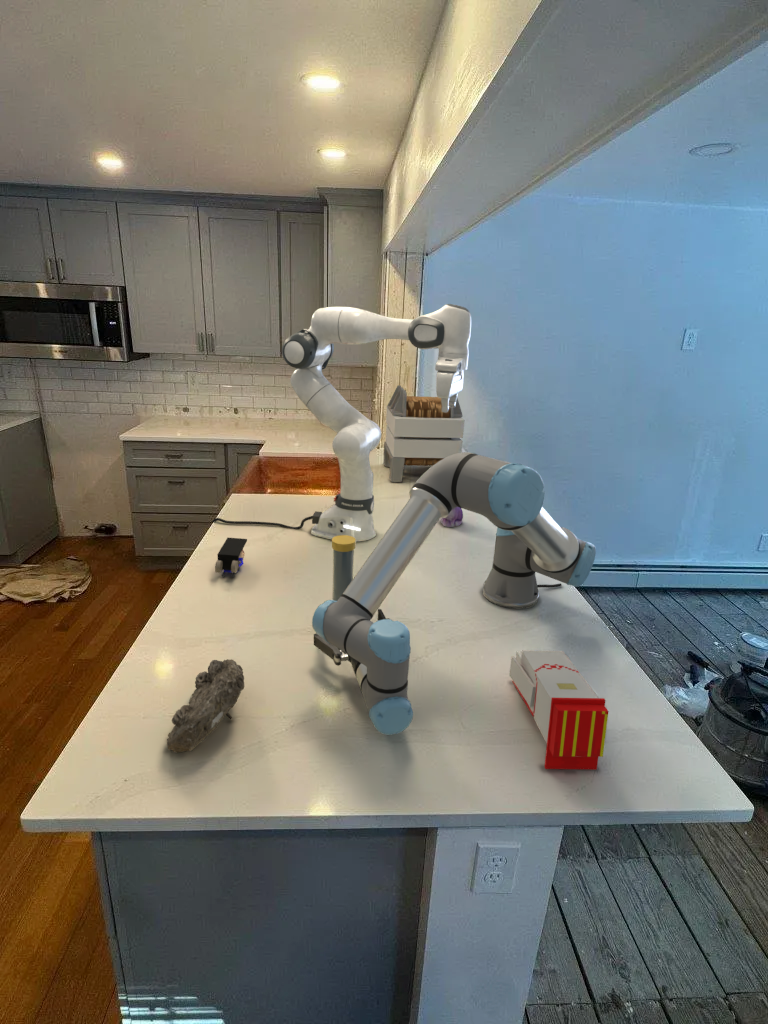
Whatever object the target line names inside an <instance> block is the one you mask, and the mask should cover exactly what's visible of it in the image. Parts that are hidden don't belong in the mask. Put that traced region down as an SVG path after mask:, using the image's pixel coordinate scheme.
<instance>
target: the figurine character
mask: <svg viewBox="0 0 768 1024" xmlns="http://www.w3.org/2000/svg"><path fill="white" fill-rule="evenodd" d="M247 542H248V538H240V537H226V539H225V541H224V543H223V544H222V546H221V547H220V549H219V551H218V552H217V560H216V562H215V564H214V572H215V573H221V577H222V578H224V577H225V576H226V574H227V573H230V574H231V573H232V574H231V578H234V577H235V575H236V573H237V572H239V571H240V567H242V566H243V565H244V564H245V562H244V558H245V551H244V547H245V546H246V544H247Z"/></svg>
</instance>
